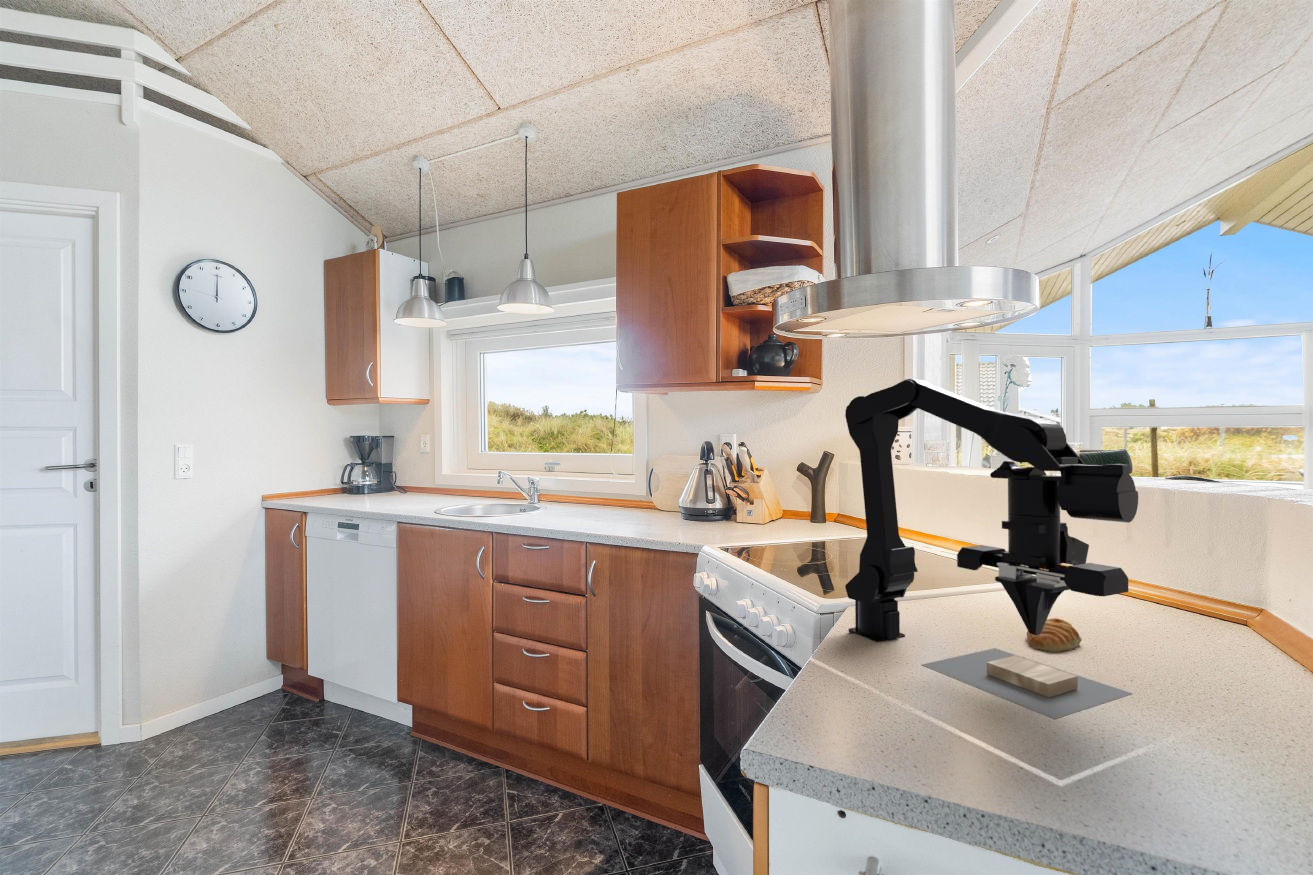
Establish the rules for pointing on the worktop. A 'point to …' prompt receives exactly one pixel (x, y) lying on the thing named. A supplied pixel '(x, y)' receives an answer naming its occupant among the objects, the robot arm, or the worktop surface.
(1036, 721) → the worktop surface
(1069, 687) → the tile
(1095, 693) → the mat
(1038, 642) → the pastry
